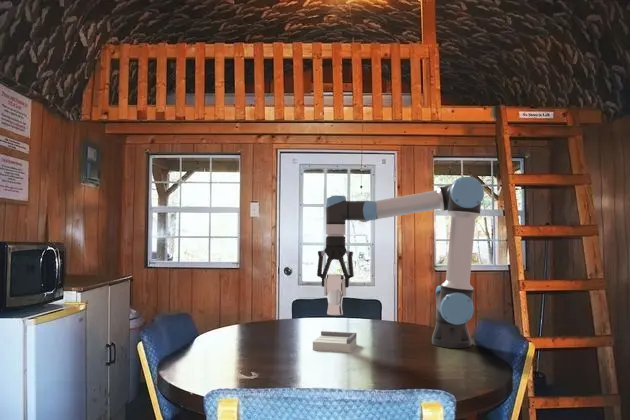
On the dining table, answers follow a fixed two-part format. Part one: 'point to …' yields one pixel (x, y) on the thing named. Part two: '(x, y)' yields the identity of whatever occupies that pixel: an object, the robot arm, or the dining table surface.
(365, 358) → the dining table surface
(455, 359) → the dining table surface
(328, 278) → the beer glass
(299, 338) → the dining table surface
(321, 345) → the dock
